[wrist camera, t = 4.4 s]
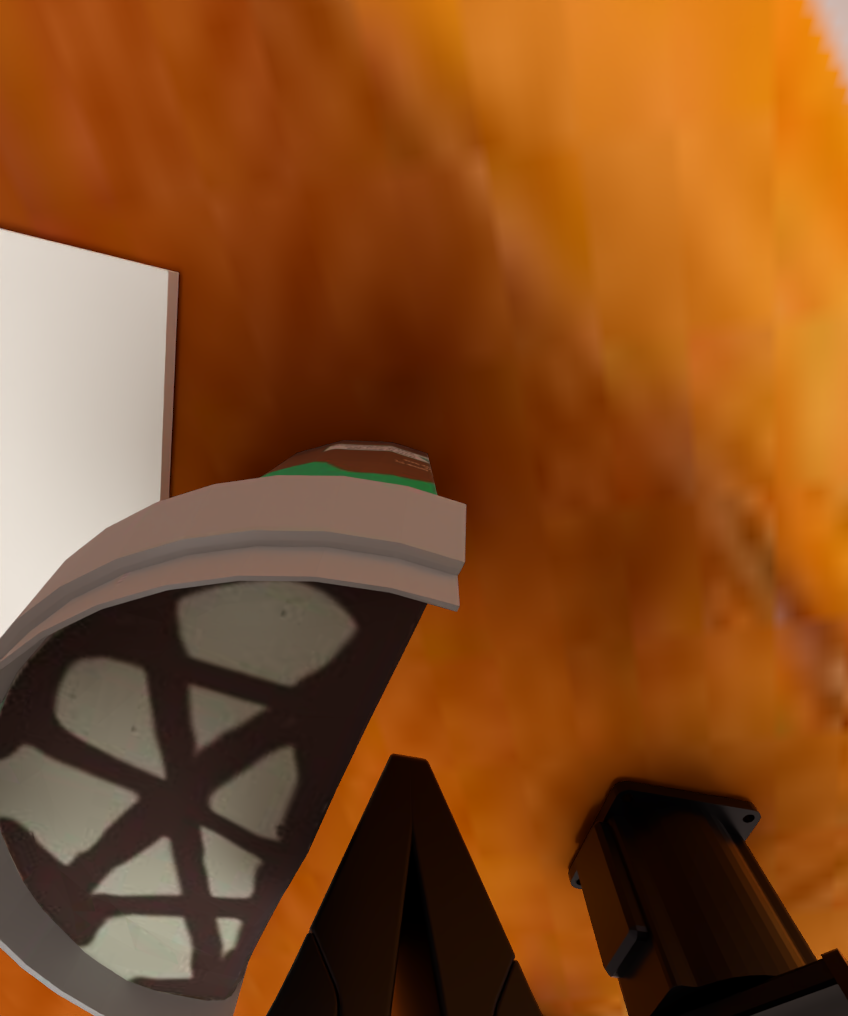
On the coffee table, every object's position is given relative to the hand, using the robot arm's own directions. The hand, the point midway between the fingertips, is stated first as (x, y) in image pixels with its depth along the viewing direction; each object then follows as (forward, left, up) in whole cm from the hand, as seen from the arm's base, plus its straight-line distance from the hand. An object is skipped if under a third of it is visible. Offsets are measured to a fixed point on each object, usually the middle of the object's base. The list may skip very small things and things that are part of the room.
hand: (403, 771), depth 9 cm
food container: (+4, 0, -8) cm, 9 cm away
